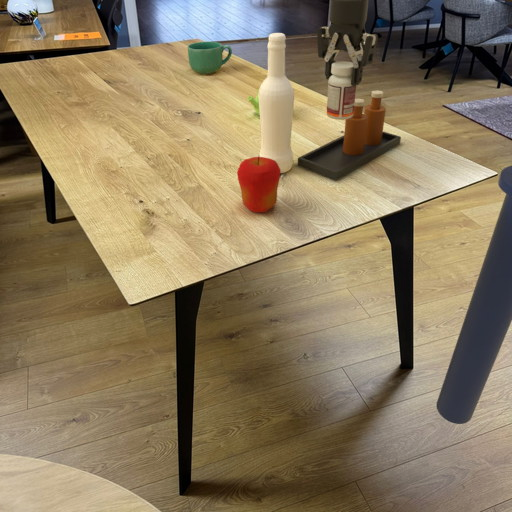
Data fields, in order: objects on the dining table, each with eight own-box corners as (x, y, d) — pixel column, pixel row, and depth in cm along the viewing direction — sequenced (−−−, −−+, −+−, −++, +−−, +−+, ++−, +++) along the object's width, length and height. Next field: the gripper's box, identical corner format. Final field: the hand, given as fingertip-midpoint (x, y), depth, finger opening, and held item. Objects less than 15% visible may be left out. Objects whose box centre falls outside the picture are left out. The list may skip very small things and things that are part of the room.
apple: (282, 198, 103) (282, 147, 96) (277, 218, 97) (277, 165, 90) (243, 195, 105) (241, 145, 98) (235, 215, 98) (232, 163, 91)
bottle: (256, 162, 118) (253, 30, 100) (287, 158, 119) (290, 28, 101) (263, 176, 112) (261, 39, 94) (296, 173, 113) (301, 36, 95)
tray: (362, 132, 132) (363, 125, 130) (399, 144, 125) (401, 136, 124) (297, 165, 116) (297, 157, 115) (335, 180, 109) (336, 172, 108)
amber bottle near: (367, 150, 121) (374, 99, 113) (355, 157, 118) (361, 105, 110) (350, 145, 124) (355, 95, 116) (338, 151, 121) (343, 100, 113)
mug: (191, 77, 176) (189, 50, 171) (188, 68, 186) (185, 42, 181) (235, 74, 179) (234, 47, 173) (230, 65, 189) (228, 39, 183)
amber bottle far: (384, 141, 125) (392, 91, 117) (373, 147, 122) (380, 97, 115) (368, 136, 128) (374, 87, 120) (356, 141, 125) (362, 92, 118)
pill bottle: (353, 111, 111) (358, 60, 105) (352, 121, 107) (358, 68, 100) (327, 110, 112) (330, 60, 106) (325, 119, 108) (328, 67, 101)
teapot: (255, 107, 150) (254, 79, 145) (291, 108, 148) (292, 81, 143) (247, 120, 141) (246, 91, 136) (286, 122, 139) (286, 93, 134)
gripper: (391, -3, 93) (380, 84, 103) (332, -10, 101) (326, 72, 111) (369, 2, 89) (359, 93, 99) (309, -5, 97) (306, 79, 107)
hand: (342, 81), depth 105 cm, fingers closed on pill bottle, 6 cm apart
